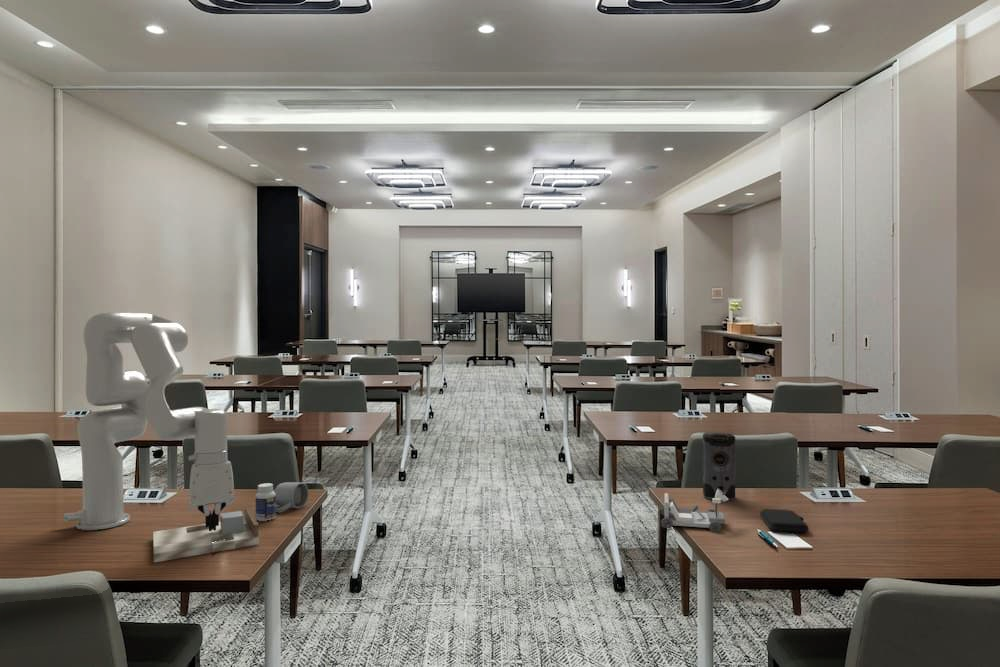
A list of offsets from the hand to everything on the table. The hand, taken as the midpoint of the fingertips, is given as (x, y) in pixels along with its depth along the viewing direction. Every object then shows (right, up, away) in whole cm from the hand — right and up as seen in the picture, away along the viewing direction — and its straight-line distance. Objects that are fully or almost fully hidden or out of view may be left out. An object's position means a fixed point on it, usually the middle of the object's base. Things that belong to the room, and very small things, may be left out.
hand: (212, 529), depth 156 cm
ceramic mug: (+10, -3, +28) cm, 30 cm away
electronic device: (+143, -2, +37) cm, 148 cm away
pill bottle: (+7, -3, +18) cm, 19 cm away
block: (+4, -1, +2) cm, 5 cm away
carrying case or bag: (+152, -3, +10) cm, 152 cm away
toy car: (+128, -3, +12) cm, 128 cm away
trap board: (-1, -3, -1) cm, 3 cm away
